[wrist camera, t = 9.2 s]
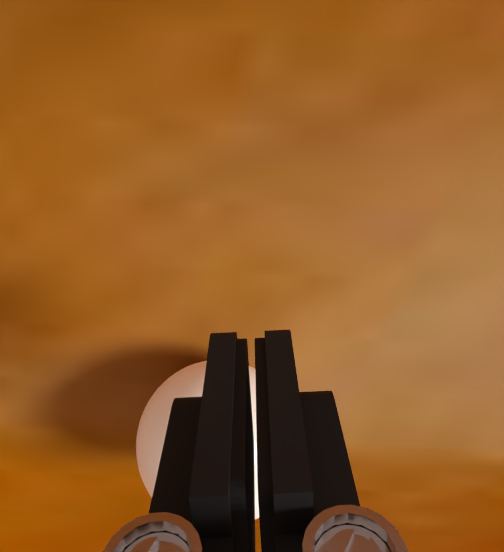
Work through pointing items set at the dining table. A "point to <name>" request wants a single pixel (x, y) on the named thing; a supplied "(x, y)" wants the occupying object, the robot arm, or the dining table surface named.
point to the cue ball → (157, 418)
